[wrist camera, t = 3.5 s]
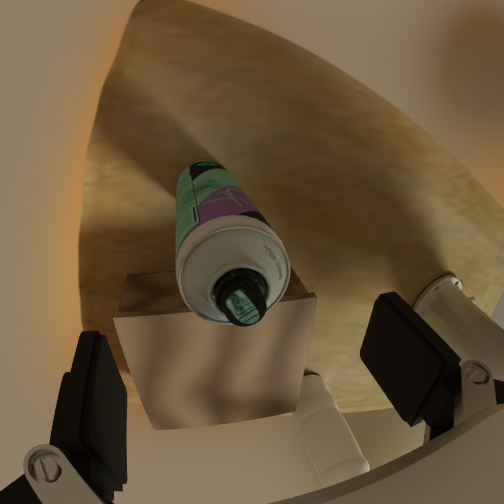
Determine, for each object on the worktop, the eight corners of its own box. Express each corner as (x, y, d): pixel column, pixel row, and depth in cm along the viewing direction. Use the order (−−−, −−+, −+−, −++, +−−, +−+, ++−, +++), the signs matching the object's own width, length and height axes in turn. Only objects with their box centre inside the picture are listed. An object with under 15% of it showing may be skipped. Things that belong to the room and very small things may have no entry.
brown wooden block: (289, 258, 35) (317, 296, 28) (278, 369, 43) (295, 411, 36) (124, 273, 31) (112, 318, 24) (152, 384, 40) (153, 430, 33)
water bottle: (274, 394, 46) (327, 530, 24) (304, 367, 45) (374, 508, 23) (302, 402, 49) (356, 523, 27) (331, 378, 48) (398, 500, 26)
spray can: (217, 221, 31) (272, 368, 14) (167, 202, 29) (159, 344, 12) (241, 172, 30) (335, 274, 12) (190, 150, 28) (210, 226, 10)
